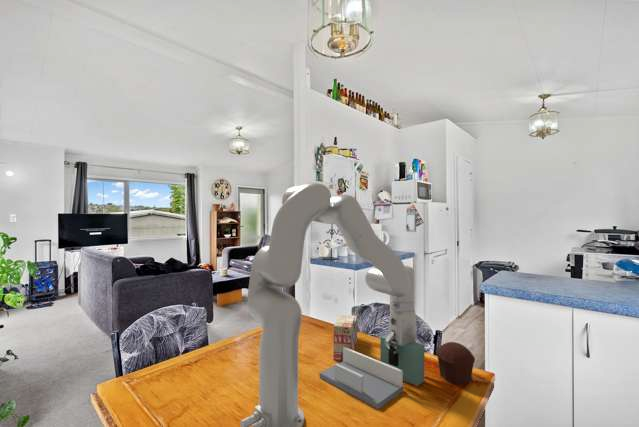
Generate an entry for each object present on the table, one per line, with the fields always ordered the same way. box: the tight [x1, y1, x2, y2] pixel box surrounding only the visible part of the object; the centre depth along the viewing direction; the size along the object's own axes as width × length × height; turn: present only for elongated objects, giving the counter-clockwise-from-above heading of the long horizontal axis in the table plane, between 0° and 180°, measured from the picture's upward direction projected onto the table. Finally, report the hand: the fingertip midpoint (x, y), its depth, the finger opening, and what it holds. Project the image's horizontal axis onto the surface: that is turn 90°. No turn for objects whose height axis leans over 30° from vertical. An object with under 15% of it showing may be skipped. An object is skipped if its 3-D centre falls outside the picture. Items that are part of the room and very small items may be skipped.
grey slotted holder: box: [318, 347, 405, 410], centre depth 94 cm, size 12×22×6 cm, turn 44°
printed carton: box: [333, 314, 358, 362], centre depth 120 cm, size 21×6×12 cm, turn 168°
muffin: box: [435, 341, 476, 385], centre depth 99 cm, size 12×11×10 cm
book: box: [379, 333, 426, 387], centre depth 99 cm, size 4×13×11 cm, turn 44°
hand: (401, 359), depth 100 cm, fingers open, 9 cm apart
